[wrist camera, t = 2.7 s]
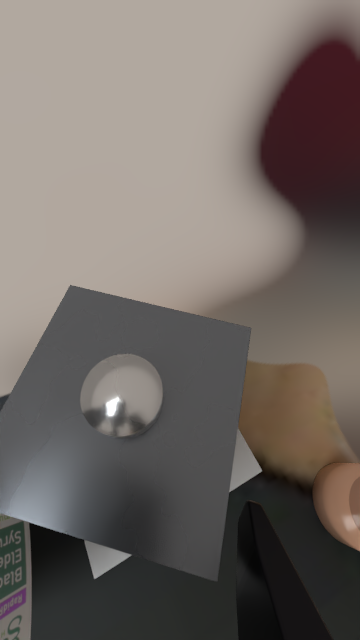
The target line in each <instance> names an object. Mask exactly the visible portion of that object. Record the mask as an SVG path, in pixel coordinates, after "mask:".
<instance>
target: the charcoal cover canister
mask: <svg viewBox="0 0 360 640" xmlns="http://www.w3.org/2000/svg"><path fill="white" fill-rule="evenodd" d="M250 333H251V328H250V327H245V326H240V325H237V324H233V323H228V322H224V321H220V320H216V319H211V318H207V317H203V316H199V315H195V314H190V313H186V312H182V311H178V310H174V309H169V308H165V307H161V306H156V305H152V304H148V303H143V302H140V301H135V300H131V299H127V298H122V297H119V296H114V295H110V294H105V293H102V292H97V291H93V290H89V289H84V288H80V287H76V286H72V285H70V287H69V288H68V290H67V292H66V294H65V296H64V298H63V299H62V301H61V303H60V305H59V307H58V308H57V310H56V312H55V314H54V316H53V318H52V319H51V321H50V323H49V325H48V327H47V328H46V330H45V332H44V334H43V336H42V337H41V339H40V341H39V343H38V345H37V347H36V348H35V350H34V352H33V354H32V356H31V358H30V359H29V361H28V363H27V365H26V367H25V368H24V370H23V372H22V374H21V376H20V377H19V379H18V381H17V383H16V385H15V386H14V388H13V390H12V392H11V394H10V395H9V397H8V399H7V401H6V403H5V405H4V406H3V408H2V410H1V412H0V513H1V514H4V515H8V516H11V517H14V518H17V519H20V520H23V521H27V522H30V523H33V524H36V525H39V526H42V527H45V528H49V529H52V530H55V531H58V532H61V533H64V534H67V535H71V536H74V537H77V538H80V539H83V540H86V541H89V542H93V543H96V544H99V545H102V546H105V547H108V548H112V549H115V550H118V551H121V552H124V553H127V554H130V555H134V556H137V557H140V558H143V559H146V560H149V561H152V562H156V563H159V564H162V565H165V566H168V567H171V568H175V569H178V570H181V571H184V572H187V573H190V574H193V575H197V576H200V577H203V578H206V579H209V580H212V581H215V582H217V580H218V572H219V565H220V557H221V550H222V542H223V535H224V527H225V520H226V513H227V505H228V498H229V490H230V483H231V475H232V468H233V460H234V453H235V445H236V438H237V430H238V423H239V415H240V408H241V401H242V393H243V386H244V378H245V371H246V363H247V356H248V347H249V341H250V340H249V339H250Z"/></svg>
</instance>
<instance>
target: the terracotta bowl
mask: <svg viewBox="0 0 360 640" xmlns="http://www.w3.org/2000/svg"><path fill="white" fill-rule="evenodd" d="M313 502H314V507H315V510H316V513H317V515H318V517H319V519H320V521H321V523H322V524H323V526H324V527H325V529H326V530H327V531H328V532H329V533H330V534H331V535H332V536H333V537H334V538H335V539H337V540H338V541H340V542H341V543H343V544H345V545H347V546H350V547H352V548H354V549H356V550H358V551H360V463H332V464H329V465H327V466H325V467H323V468H322V469H321V470H320V471H319V472H318V474H317V476H316V478H315V480H314V484H313Z"/></svg>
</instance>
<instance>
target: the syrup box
mask: <svg viewBox="0 0 360 640" xmlns="http://www.w3.org/2000/svg"><path fill="white" fill-rule="evenodd" d="M31 609H32V575H31V541H30V528H29V522H27V521H23V520H20V519H17V518H14V517H11V516H8V515H4V514H1V513H0V640H30V637H31Z"/></svg>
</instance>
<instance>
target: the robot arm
mask: <svg viewBox="0 0 360 640" xmlns="http://www.w3.org/2000/svg"><path fill="white" fill-rule="evenodd" d="M236 600H237V618H238V636H239V640H333V638H332V636H331V634H330V632H329V630H328V628H327V626H326V625H325V623H324V621H323V619H322V617H321V615H320V613H319V612H318V610H317V608H316V606H315V604H314V602H313V600H312V598H311V597H310V595H309V593H308V591H307V589H306V587H305V585H304V584H303V582H302V580H301V578H300V576H299V574H298V572H297V570H296V569H295V567H294V565H293V563H292V561H291V559H290V557H289V555H288V554H287V552H286V550H285V548H284V546H283V544H282V542H281V541H280V539H279V537H278V535H277V533H276V531H275V529H274V527H273V526H272V524H271V522H270V520H269V518H268V516H267V514H266V513H265V511H264V509H263V507H262V505H261V504H260V503H257V502H254V501H250V500H247V501H246V503H245V505H244V507H243V510H242V513H241V515H240V518H239V522H238V543H237V575H236Z"/></svg>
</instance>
